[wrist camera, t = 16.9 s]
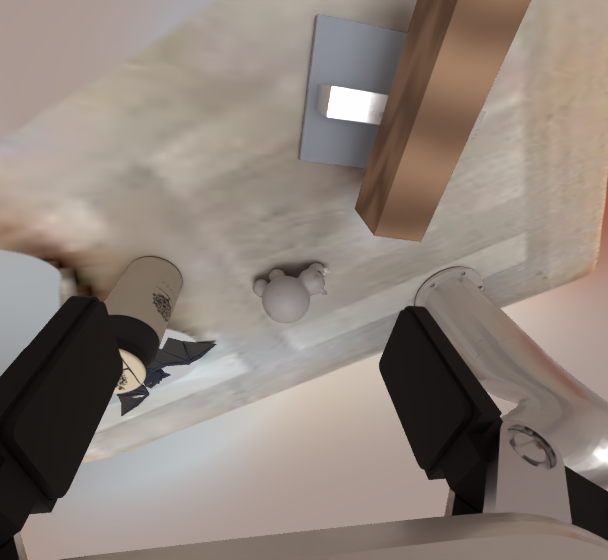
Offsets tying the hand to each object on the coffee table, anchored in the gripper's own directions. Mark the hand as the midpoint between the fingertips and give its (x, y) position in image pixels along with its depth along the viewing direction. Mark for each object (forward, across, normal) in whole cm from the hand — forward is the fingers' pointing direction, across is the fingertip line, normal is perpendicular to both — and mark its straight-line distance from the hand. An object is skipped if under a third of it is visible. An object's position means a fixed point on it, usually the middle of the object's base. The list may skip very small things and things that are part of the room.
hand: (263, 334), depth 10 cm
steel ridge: (+32, -14, -6) cm, 35 cm away
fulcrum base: (+33, -14, -6) cm, 37 cm away
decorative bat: (+34, +19, +42) cm, 58 cm away
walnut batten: (+24, -14, -6) cm, 29 cm away
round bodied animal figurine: (+34, -6, +20) cm, 39 cm away
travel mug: (+34, +15, +21) cm, 42 cm away
